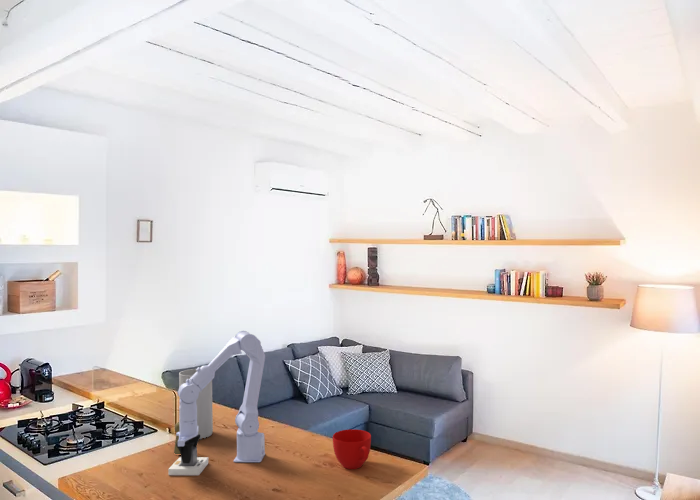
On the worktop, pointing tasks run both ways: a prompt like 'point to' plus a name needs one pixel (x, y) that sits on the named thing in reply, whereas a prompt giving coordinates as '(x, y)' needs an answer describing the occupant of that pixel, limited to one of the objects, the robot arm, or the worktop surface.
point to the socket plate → (188, 467)
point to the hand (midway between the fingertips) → (188, 460)
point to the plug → (193, 458)
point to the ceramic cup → (352, 447)
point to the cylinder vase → (201, 405)
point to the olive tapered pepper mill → (177, 438)
